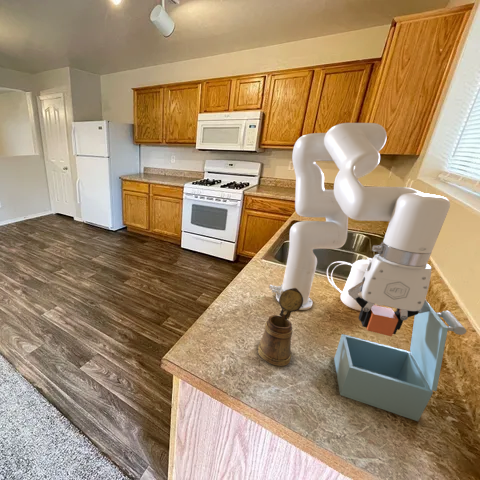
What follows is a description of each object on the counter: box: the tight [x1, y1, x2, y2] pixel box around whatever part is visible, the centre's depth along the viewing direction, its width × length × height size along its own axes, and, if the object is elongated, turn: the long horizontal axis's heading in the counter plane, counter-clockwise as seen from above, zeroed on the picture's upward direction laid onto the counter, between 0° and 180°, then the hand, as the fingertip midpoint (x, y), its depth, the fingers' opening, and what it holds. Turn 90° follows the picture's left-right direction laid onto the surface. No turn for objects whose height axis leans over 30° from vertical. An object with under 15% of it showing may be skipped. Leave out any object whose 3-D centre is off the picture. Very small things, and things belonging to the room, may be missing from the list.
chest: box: [333, 333, 434, 422], centre depth 65 cm, size 15×13×9 cm
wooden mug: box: [257, 288, 303, 367], centre depth 74 cm, size 9×14×18 cm, turn 136°
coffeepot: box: [326, 257, 384, 312], centre depth 96 cm, size 11×25×19 cm, turn 44°
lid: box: [409, 300, 467, 392], centre depth 57 cm, size 15×13×5 cm
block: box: [365, 305, 398, 337], centre depth 60 cm, size 4×4×4 cm
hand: (377, 326), depth 61 cm, fingers closed on block, 4 cm apart
